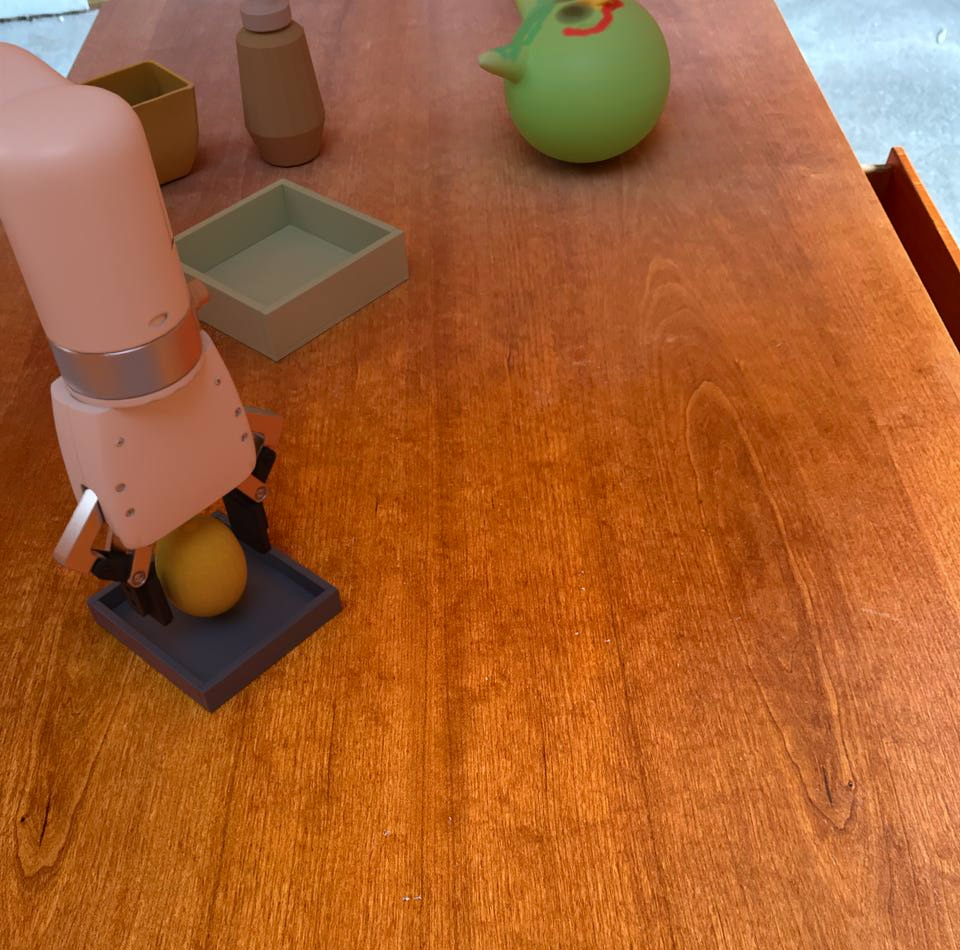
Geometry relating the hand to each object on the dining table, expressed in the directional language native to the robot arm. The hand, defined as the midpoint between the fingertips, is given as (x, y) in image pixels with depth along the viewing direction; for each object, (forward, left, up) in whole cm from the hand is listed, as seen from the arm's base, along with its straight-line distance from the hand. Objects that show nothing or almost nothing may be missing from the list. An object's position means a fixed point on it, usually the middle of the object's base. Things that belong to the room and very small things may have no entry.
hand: (204, 576), depth 75 cm
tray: (0, 0, -4) cm, 4 cm away
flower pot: (-52, +35, -4) cm, 63 cm away
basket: (-26, +29, -4) cm, 39 cm away
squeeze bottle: (-44, +46, -4) cm, 64 cm away
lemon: (0, 0, -3) cm, 3 cm away
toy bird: (-21, +64, -4) cm, 67 cm away
